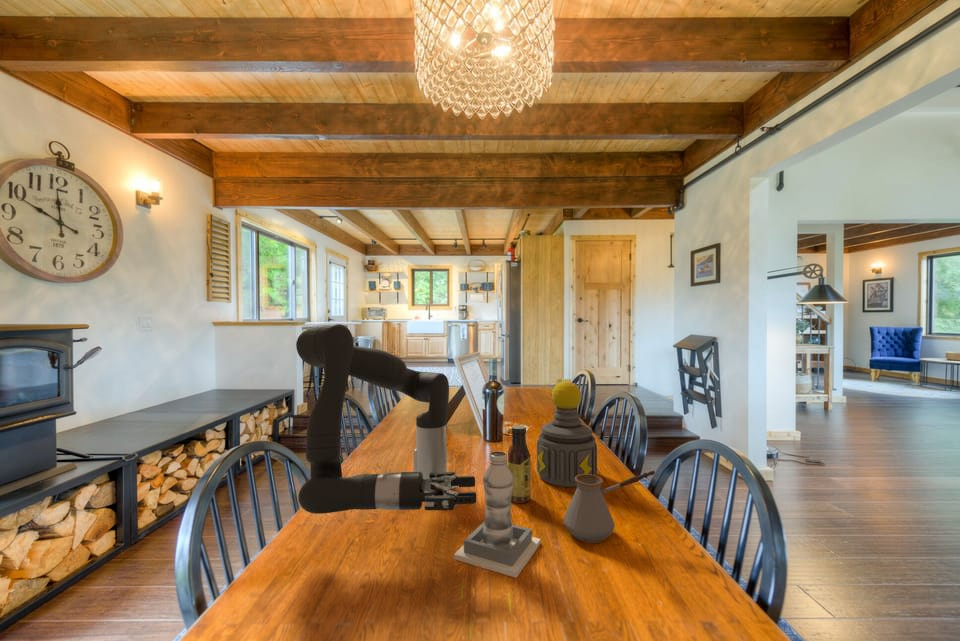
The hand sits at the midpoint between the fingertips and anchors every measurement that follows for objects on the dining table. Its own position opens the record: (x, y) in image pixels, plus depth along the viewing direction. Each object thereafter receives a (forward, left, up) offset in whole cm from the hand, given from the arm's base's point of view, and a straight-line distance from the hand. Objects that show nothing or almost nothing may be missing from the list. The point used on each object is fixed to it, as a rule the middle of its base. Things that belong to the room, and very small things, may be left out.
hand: (475, 489), depth 92 cm
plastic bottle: (+4, +2, -13) cm, 14 cm away
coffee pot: (+24, +20, -14) cm, 35 cm away
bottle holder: (+4, +2, -13) cm, 14 cm away
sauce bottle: (-2, +28, -14) cm, 32 cm away
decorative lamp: (+5, +50, -14) cm, 53 cm away
